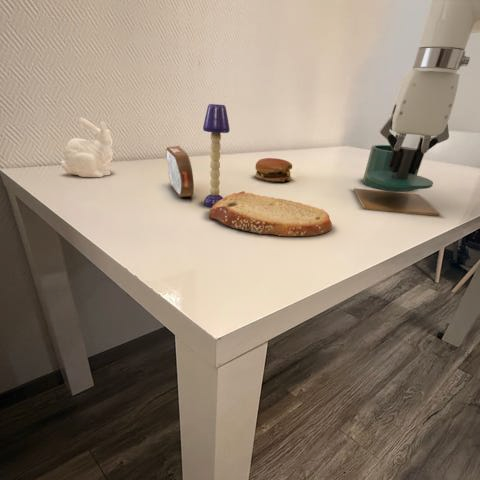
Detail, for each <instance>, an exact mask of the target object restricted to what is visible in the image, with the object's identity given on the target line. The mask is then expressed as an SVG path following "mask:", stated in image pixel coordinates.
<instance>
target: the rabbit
mask: <svg viewBox="0 0 480 480" xmlns="http://www.w3.org/2000/svg"><path fill="white" fill-rule="evenodd" d="M99 124H100V125H99V126H100V128H99V127H97V126H96V125H95V124H94V123H93V122H91V121H89V120H87V119H85V118H84V117H82V116H81V117H79V119H78V127H80V128H81V129H83V130H86V131H89V132H91V133H92V134H94V135H95V136H94V138H93V139H90V140H88V139H84V138H82V137H81V138H80V137H74V138H71V139H70V140H68V141H67V143H66V144H65V147H64V150H63V155H64V160H61V161H60V166H61V168H62V169H63V170H64V171H65V172H67V173H68V174H71V175H75V176H79V177H81V178H102V177H103V176H110V175H111V172H110V170H109V169H108V168H106V167H105V166H107V165H109V164H110V163H111V162H112V160H113V156H114V152H113V148H112V146H113V143H114V141H113V138H112V136H111V134H112V133H111V130H109V129H107V128H108V126H107V125H108V124H107V122H106V121H100V123H99Z"/></svg>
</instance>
